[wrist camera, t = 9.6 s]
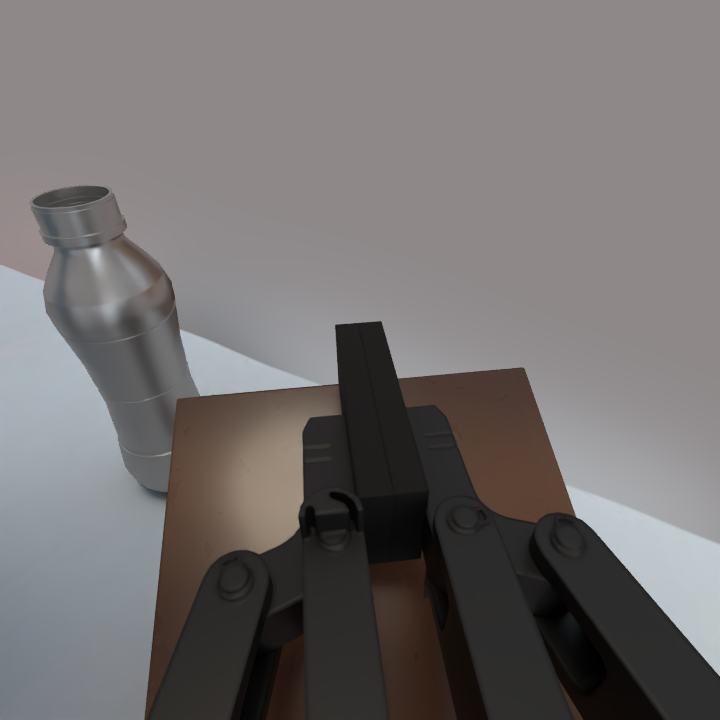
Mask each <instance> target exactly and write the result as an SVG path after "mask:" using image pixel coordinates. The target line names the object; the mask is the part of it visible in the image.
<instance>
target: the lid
mask: <svg viewBox="0 0 720 720" xmlns="http://www.w3.org/2000/svg"><path fill="white" fill-rule="evenodd" d="M398 382H399V385H400V389H401V392H402V396H403V399H404V403H405V406H406V407H416V406H427V405H435V406H436V407H437V408H438V409H439V410H440V411H441V412H442V413H443V414H444V415H445V416H446V417H447V419H448V421H449V424H450V427H451V429H452V432H453V435H454V437H455V440H456V442H457V447H458V448H459V450H460V453H461V455H462V458H463V461H464V463H465V466H466V469H467V471H468V474H469V476H470V479H471V482H472V484H473V487H474V490H475V492H476V494H477V495H478V497H479V499H480V500H481V501H482V502H483V503H484V505H486V506H487V507H488V508H489V509H491V510H492V511H494V512H496V513H498V514H500V515H502V516H506V517H509V518H513V519H518V520H524V521H529V522H534V523H537V522H538V519H540V518H541V517H543V516H544V515H546V514H549V513H555V512H560V513H565V514H570V515H572V516H574V517H576V515H575V513H574V510H573V507H572V504H571V501H570V498H569V495H568V492H567V490H566V487H565V484H564V481H563V478H562V475H561V472H560V469H559V467H558V464H557V461H556V458H555V455H554V452H553V449H552V447H551V444H550V441H549V438H548V435H547V432H546V429H545V426H544V423H543V421H542V418H541V415H540V412H539V409H538V406H537V404H536V401H535V398H534V395H533V392H532V389H531V386H530V383H529V380H528V378H527V375H526V372H525V369H524V368H512V369H501V370H490V371H478V372H468V373H457V374H445V375H435V376H424V377H412V378H401V379H398ZM331 415H342V410H341V401H340V393H339V384H334V385H323V386H312V387H300V388H289V389H278V390H267V391H256V392H245V393H234V394H223V395H211V396H200V397H189V398H179V399H177V402H176V412H175V422H174V432H173V442H172V452H171V462H170V472H169V482H168V492H167V502H166V511H165V521H164V531H163V541H162V551H161V561H160V571H159V581H158V591H157V601H156V611H155V621H154V631H153V641H152V651H151V661H150V671H149V681H148V690H147V700H146V710H145V720H146V719H147V716H148V714H149V711H150V709H151V706H152V704H153V701H154V699H155V696H156V694H157V691H158V689H159V686H160V684H161V681H162V679H163V676H164V674H165V671H166V669H167V666H168V664H169V661H170V659H171V656H172V654H173V651H174V649H175V646H176V644H177V641H178V639H179V636H180V634H181V632H182V629H183V627H184V624H185V622H186V619H187V617H188V614H189V612H190V609H191V607H192V604H193V602H194V599H195V597H196V594H197V592H198V589H199V587H200V584H201V582H202V579H203V577H204V575H205V574H206V572H207V570H208V569H209V567H210V566H211V565H212V564H213V563H214V562H215V561H216V560H217V559H218V558H220V557H221V556H223V555H225V554H227V553H229V552H232V551H235V550H249V551H252V552H255V553H258V554H261V553H263V552H266V551H268V550H270V549H272V548H275V547H277V546H279V545H281V544H282V543H284V542H286V541H287V540H288V539H289V538H291V537H292V536H293V535H294V534H295V532H296V531H297V530H298V528H299V527H300V525H299V519H298V515H299V510H300V506H301V504H302V503H303V501H304V498H303V442H302V432H303V430H304V428H305V426H306V424H307V422H308V420H309V418H310V417H320V416H331ZM369 571H370V578H371V585H372V592H373V600H374V607H375V614H376V621H377V629H378V636H379V643H380V650H381V658H382V665H383V672H384V679H385V687H386V694H387V701H388V708H389V716H390V720H457V718H456V713H455V709H454V705H453V700H452V696H451V692H450V687H449V683H448V678H447V674H446V670H445V665H444V661H443V657H442V652H441V648H440V643H439V639H438V635H437V630H436V626H435V622H434V617H433V613H432V608H431V604H430V600H429V595H428V598H424V599H423V586H424V580H425V573H426V564H425V560H424V555H423V551H422V552H421V559H413V560H405V561H397V562H388V563H380V564H372V565H369ZM559 682H560V681H559ZM560 684H561V682H560ZM561 687H562V689H563V692H564V695H565V697H566V700H567V702H568V705H569V707H570V710H571V712H572V715H573V717H574V720H583V718H582V717H581V715H580V713H579V712H578V710H577V708H576V707H575V705H574V703H573V702H572V700H571V699H570V697H569V695H568V694H567V692H566V690H565V689H564V687H563V686H562V684H561ZM266 720H305V690H304V634H303V635H301V636H300V637H298V638H296V639H294V640H292V641H290V642H288V643H286V644H284V645H283V649H282V653H281V657H280V662H279V666H278V670H277V675H276V679H275V683H274V688H273V692H272V696H271V701H270V705H269V709H268V713H267V718H266Z"/></svg>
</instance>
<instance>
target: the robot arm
mask: <svg viewBox="0 0 720 720" xmlns="http://www.w3.org/2000/svg"><path fill="white" fill-rule="evenodd" d="M335 329H336V345H337V363H338V380H339V393H340V401H341V410H342V415H331V416H320V417H310V418H309V420H308V422H307V424H306V426H305V428H304V430H303V432H302V442H303V498H304V501H303V503H302V504H301V506H300V510H299V515H298V519H299V525H300V527H299V528H298V530H297V531H296V532H295V534H294V535H293V536H292V537H291V538H289V539H288V540H287V541H286V542H284V543H282V544H281V545H279V546H277V547H275V548H272V549H270V550H268V551H266V552H263V553H261V554H258V553H255V552H252V551H249V550H235V551H232V552H229V553H227V554H225V555H223V556H221V557H220V558H218V559H217V560H216V561H215V562H214V563H213V564H212V565H211V566H210V567H209V569H208V570H207V572H206V574H205V575H204V577H203V579H202V582H201V584H200V587H199V589H198V592H197V594H196V597H195V599H194V602H193V604H192V607H191V609H190V612H189V614H188V617H187V619H186V622H185V624H184V627H183V629H182V632H181V634H180V636H179V639H178V641H177V644H176V646H175V649H174V651H173V654H172V656H171V659H170V661H169V664H168V666H167V669H166V671H165V674H164V676H163V679H162V681H161V684H160V686H159V689H158V691H157V694H156V696H155V699H154V701H153V704H152V706H151V709H150V711H149V714H148V716H147V719H146V720H266V718H267V713H268V709H269V705H270V701H271V696H272V692H273V688H274V683H275V679H276V675H277V670H278V666H279V662H280V657H281V653H282V649H283V645H284V644H286V643H288V642H290V641H292V640H294V639H296V638H298V637H300V636H301V635H303V634H304V690H305V720H390V716H389V708H388V701H387V694H386V687H385V679H384V672H383V665H382V658H381V650H380V643H379V636H378V629H377V621H376V614H375V607H374V600H373V592H372V585H371V578H370V571H369V565H372V564H380V563H388V562H397V561H405V560H413V559H421V552H422V551H423V555H424V560H425V564H426V573H425V580H424V586H423V599H424V598H428V595H429V600H430V604H431V608H432V613H433V617H434V622H435V626H436V630H437V635H438V639H439V643H440V648H441V652H442V657H443V661H444V665H445V670H446V674H447V678H448V683H449V687H450V692H451V696H452V700H453V705H454V709H455V713H456V718H457V720H574V717H573V715H572V712H571V710H570V707H569V705H568V702H567V700H566V697H565V695H564V692H563V689H562V687H561V684H562V686H563V687H564V689H565V690H566V692H567V694H568V695H569V697H570V699H571V700H572V702H573V703H574V705H575V707H576V708H577V710H578V712H579V713H580V715H581V717H582V718H583V720H720V676H719V675H718V674H717V673H716V672H715V671H714V669H713V668H712V667H711V666H710V665H709V664H708V663H707V661H706V660H705V659H704V658H703V657H702V656H701V654H700V653H699V652H698V651H697V650H696V649H695V647H694V646H693V645H692V644H691V643H690V642H689V640H688V639H687V638H686V637H685V636H684V635H683V634H682V632H681V631H680V630H679V629H678V628H677V627H676V625H675V624H674V623H673V622H672V621H671V620H670V618H669V617H668V616H667V615H666V614H665V613H664V612H663V610H662V609H661V608H660V607H659V606H658V605H657V603H656V602H655V601H654V600H653V599H652V598H651V596H650V595H649V594H648V593H647V592H646V591H645V589H644V588H643V587H642V586H641V585H640V584H639V583H638V581H637V580H636V579H635V578H634V577H633V576H632V574H631V573H630V572H629V571H628V570H627V569H626V567H625V566H624V565H623V564H622V563H621V562H620V561H619V559H618V558H617V557H616V556H615V555H614V554H613V552H612V551H611V550H610V549H609V548H608V547H607V545H606V544H605V543H604V542H603V541H602V540H601V538H600V537H599V536H598V535H597V534H596V533H595V532H594V530H593V529H592V528H590V527H589V526H588V525H587V524H586V523H585V522H584V521H582V520H580V519H578V518H576V517H574V516H572V515H570V514H565V513H560V512H555V513H549V514H546V515H544V516H543V517H541V518H540V519H538V522H537V523H534V522H529V521H524V520H518V519H513V518H509V517H506V516H502V515H500V514H498V513H496V512H494V511H492V510H491V509H489V508H488V507H487V506H486V505H484V503H483V502H482V501H481V500H480V499H479V497H478V495H477V494H476V492H475V490H474V487H473V484H472V482H471V479H470V476H469V474H468V471H467V469H466V466H465V463H464V461H463V458H462V455H461V453H460V450H459V448H458V447H457V442H456V440H455V437H454V435H453V432H452V429H451V427H450V424H449V421H448V419H447V417H446V416H445V415H444V414H443V413H442V412H441V411H440V410H439V409H438V408H437V407H436V406H435V405H427V406H416V407H406V406H405V403H404V399H403V396H402V392H401V389H400V385H399V382H398V378H397V375H396V371H395V368H394V364H393V361H392V357H391V354H390V350H389V347H388V343H387V340H386V336H385V333H384V329H383V326H382V322H381V321H379V322H366V323H353V324H341V325H340V324H339V325H335ZM559 681H560V682H561V684H560V682H559Z"/></svg>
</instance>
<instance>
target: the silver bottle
mask: <svg viewBox="0 0 720 720" xmlns="http://www.w3.org/2000/svg"><path fill="white" fill-rule="evenodd" d="M30 205H31V210H32V211H33V214H34V216H35V218H36V220H37V222H38V225H39V227H40V235H41V237H42V239H43V241H44V242H45V243H46V244H48V245H50V246H53V247H54V254H53V257H52V260H51V263H50V266H49V269H48V271H47V275H46V280H45V284H44V289H43V295H44V302H45V308H46V313H47V315H48V316H49V318H50V319H51V321H52V323H53V324H54V326H55V327H56V329H57V330H58V331H59V333H60V334H61V335H62V337H63V338H64V339H65V341H66V342H67V343H68V345H69V346H70V347H71V349H72V350H73V351H74V353H75V354H76V355H77V357H78V358H79V359H80V361H81V362H82V364H83V365H84V366H85V368H86V370H87V372H88V373H89V375H90V377H91V378H92V380H93V382H94V384H95V385H96V386H97V388H98V389H99V392H100V394H101V395H102V397H103V399H104V401H105V402H106V405H107V408H108V410H109V413H110V416H111V418H112V421H113V424H114V426H115V429H116V432H117V435H118V441H119V447H120V450H121V454H122V457H123V460H124V464H125V467H126V468H127V469H128V471H129V472H130V473H131V475H132V476H133V477H134V478H135V479H136V480H137V481H138V482H139V483H140V484H141V485H142V486H144V487H146V488H148V489H150V490H155V491H160V492H168V482H169V472H170V462H171V452H172V442H173V432H174V422H175V412H176V402H177V399H179V398H189V397H200V395H199V392H198V390H197V388H196V386H195V383H194V381H193V379H192V377H191V374H190V371H189V367H188V363H187V361H186V356H185V352H184V348H183V344H182V340H181V337H180V330H179V323H178V317H177V310H176V303H175V296H174V291H173V288H172V282H171V280H170V278H169V277H168V276H167V274H166V273H165V271H164V270H163V268H162V267H161V265H160V264H159V263H158V262H157V261H156V260H155V259H153V258H152V257H151V256H150V255H149V254H148V253H147V252H146V251H144V250H143V249H141V248H140V247H139V246H137V245H136V244H135V243H133V242H132V241H130V240H129V239H128V238H126V237H125V235H124V233H123V232H124V231H125V230H126V228H127V224H126V221H125V218H124V216H123V215H122V214H121V213H120V210H119V207H118V204H117V201H116V198H115V195H114V193H113V192H112V190H111V189H110V188H109V187H106V186H100V185H79V186H71V187H64V188H59V189H55V190H51V191H47V192H44V193H42V194H39V195H37V196H35V197H34V198H32V199H31V200H30Z"/></svg>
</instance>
